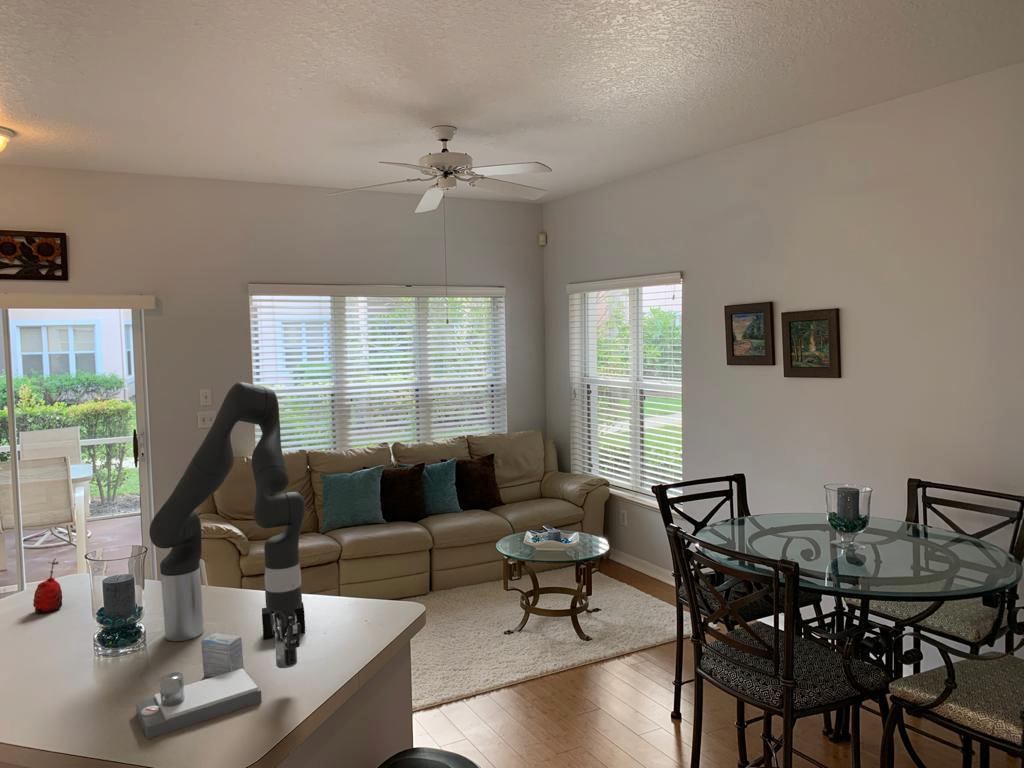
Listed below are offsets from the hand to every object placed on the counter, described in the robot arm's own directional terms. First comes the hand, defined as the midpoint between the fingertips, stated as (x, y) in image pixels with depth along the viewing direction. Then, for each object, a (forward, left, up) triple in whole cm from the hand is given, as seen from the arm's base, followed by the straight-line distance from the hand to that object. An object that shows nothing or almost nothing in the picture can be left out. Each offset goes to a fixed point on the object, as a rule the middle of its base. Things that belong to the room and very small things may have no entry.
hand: (286, 659), depth 158 cm
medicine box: (-16, -9, -7) cm, 20 cm away
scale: (-4, -17, -6) cm, 19 cm away
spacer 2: (0, 0, -1) cm, 1 cm away
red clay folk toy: (-91, -38, -7) cm, 99 cm away
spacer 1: (-4, -22, -3) cm, 23 cm away
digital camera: (-30, +9, -7) cm, 32 cm away
